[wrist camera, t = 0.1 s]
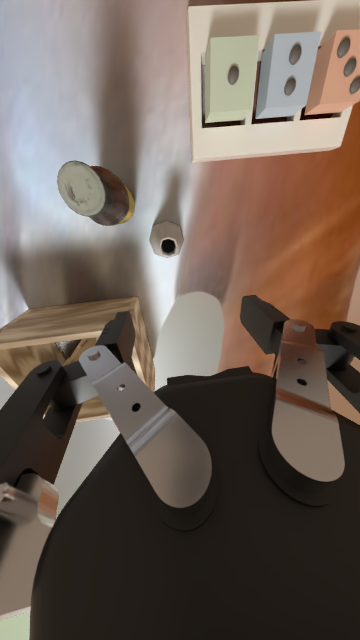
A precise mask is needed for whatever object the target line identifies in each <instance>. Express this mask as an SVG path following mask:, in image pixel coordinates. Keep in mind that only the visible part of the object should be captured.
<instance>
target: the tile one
mask: <svg viewBox="0 0 360 640" xmlns="http://www.w3.org/2000/svg"><path fill="white" fill-rule="evenodd" d="M258 39H259V35H251V36H234V37H216V38H210V42H209V45H208V49H207V52H206V56H205V123H210V122H223V121H236V120H243V119H244V118H245V117H246V116H247V115H248V113H249V112H250V111H251V110H252V104H253V93H254V82H255V71H256V60H257V50H258Z"/></svg>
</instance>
